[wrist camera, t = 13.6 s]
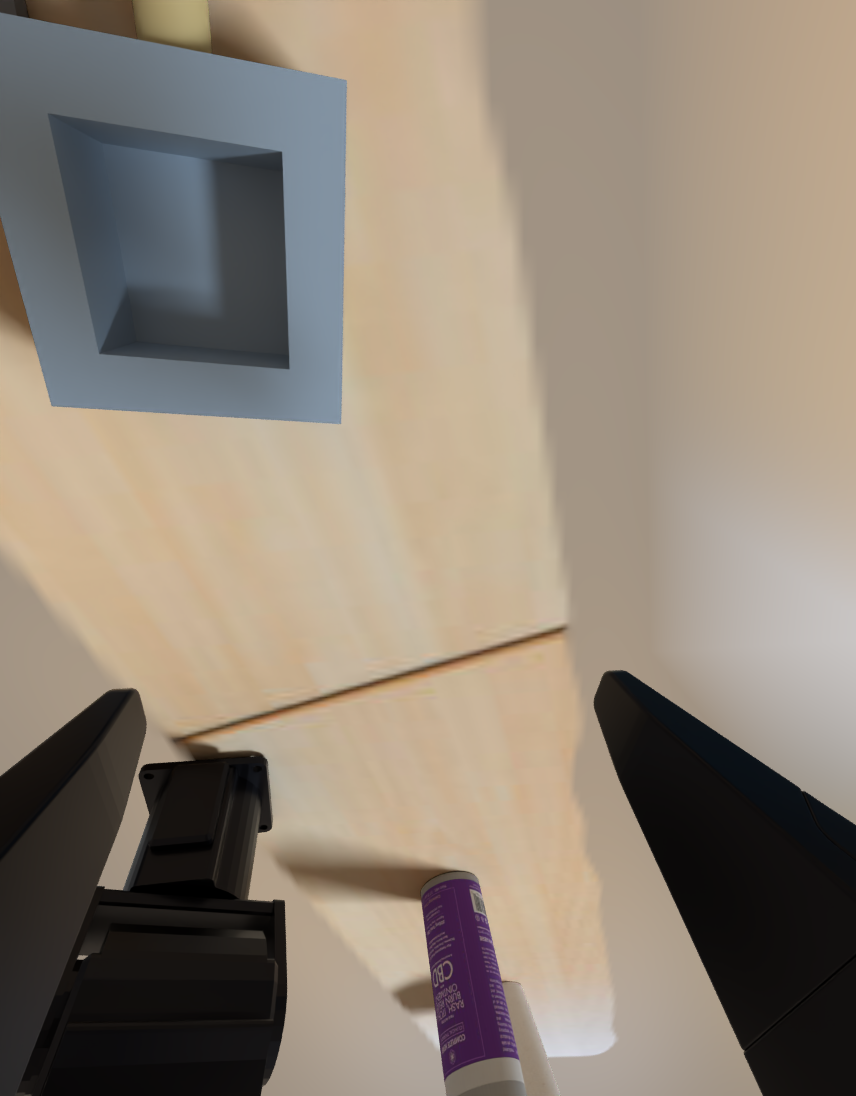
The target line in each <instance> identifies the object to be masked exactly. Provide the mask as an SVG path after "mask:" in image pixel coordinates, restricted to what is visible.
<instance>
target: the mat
mask: <svg viewBox="0 0 856 1096" xmlns="http://www.w3.org/2000/svg"><path fill="white" fill-rule="evenodd" d="M0 13H5V14H10V15H15V16H20V17H26V18H29V17H28V12H27V8H26V3H25V0H0Z"/></svg>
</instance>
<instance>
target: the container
mask: <svg viewBox="0 0 856 1096" xmlns="http://www.w3.org/2000/svg"><path fill="white" fill-rule="evenodd" d="M421 901H422V909H423V917H424V925H425V933H426V940H427V948H428V956H429V964H430V972H431V980H432V987H433V995H434V1003H435V1011H436V1019H437V1027H438V1035H439V1042H440V1050H441V1058H442V1066H443V1073H444V1082H445V1087H446V1095H447V1096H527V1094H526V1089H525V1084H524V1079H523V1074H522V1070H521V1065H520V1060H519V1055H518V1051H517V1046H516V1042H515V1038H514V1033H513V1029H512V1025H511V1020H510V1016H509V1011H508V1007H507V1003H506V998H505V994H504V990H503V985H502V981H501V976H500V972H499V968H498V963H497V959H496V955H495V950H494V946H493V941H492V937H491V933H490V928H489V924H488V920H487V915H486V911H485V906H484V902H483V898H482V893H481V889H480V885H479V881H478V878H477V877H476V876H475V875H473V874H471V873H468V872H450V873H446V874H442V875H440V876H437V877H435V878H433V879H431V880H430V881H429V882H427V883H426V884H425V885H424V886H423V888H422V890H421Z"/></svg>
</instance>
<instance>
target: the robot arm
mask: <svg viewBox="0 0 856 1096" xmlns="http://www.w3.org/2000/svg"><path fill="white" fill-rule="evenodd" d="M594 709H595V712H596V715H597V718H598V721H599V724H600V727H601V729H602V733H603V736H604V738H605V741H606V744H607V747H608V750H609V753H610V756H611V759H612V762H613V765H614V767H615V770H616V772H617V775H618V778H619V781H620V783H621V785H622V787H623V790H624V792H625V794H626V797H627V799H628V801H629V803H630V805H631V807H632V809H633V812H634V814H635V816H636V818H637V821H638V823H639V825H640V827H641V829H642V832H643V834H644V836H645V838H646V840H647V842H648V845H649V847H650V849H651V851H652V853H653V856H654V858H655V860H656V862H657V864H658V866H659V868H660V871H661V873H662V875H663V877H664V880H665V882H666V883H667V886H668V888H669V891H670V893H671V895H672V897H673V899H674V901H675V903H676V906H677V908H678V910H679V912H680V915H681V917H682V919H683V921H684V923H685V926H686V928H687V930H688V932H689V934H690V936H691V938H692V941H693V943H694V945H695V947H696V949H697V952H698V954H699V956H700V958H701V961H702V963H703V965H704V967H705V969H706V971H707V974H708V976H709V978H710V980H711V982H712V985H713V987H714V989H715V991H716V993H717V996H718V998H719V1000H720V1002H721V1004H722V1006H723V1008H724V1011H725V1013H726V1015H727V1017H728V1019H729V1022H730V1024H731V1026H732V1028H733V1031H734V1033H735V1035H736V1037H737V1039H738V1041H739V1044H740V1046H741V1048H742V1049H743V1050H745V1051H744V1055H745V1058H746V1060H747V1062H748V1064H749V1066H750V1069H751V1071H752V1072H753V1075H754V1077H755V1079H756V1082H757V1084H758V1086H759V1088H760V1090H761V1093H762V1095H763V1096H856V825H855V824H853V823H852V822H850V821H849V820H847V819H846V818H844V817H843V816H841V815H840V814H838V813H837V812H835V811H833V810H832V809H830V808H829V807H827V806H826V805H824V804H823V803H821V802H820V801H818V800H817V799H816V798H814V797H813V796H811V795H810V794H808V793H806V792H805V791H801V789H800V788H799V787H798V786H796V785H795V784H793V783H792V782H790V781H789V780H787V779H786V778H784V777H783V776H781V775H780V774H778V773H777V772H775V771H774V770H772V769H771V768H769V767H768V766H766V765H765V764H763V763H762V762H760V761H759V760H757V759H756V758H754V757H753V756H752V755H750V754H749V753H747V752H745V751H744V750H743V749H741V748H740V747H738V746H737V745H735V744H734V743H732V742H731V741H729V740H728V739H726V738H725V737H723V736H722V735H720V734H718V733H717V732H716V731H714V730H713V729H711V728H710V727H708V726H707V725H705V724H704V723H702V722H701V721H700V720H698V719H697V718H695V717H694V716H692V715H691V714H689V713H688V712H686V711H685V710H683V709H682V708H680V707H679V706H677V705H676V704H674V703H673V702H671V701H670V700H668V699H667V698H665V697H664V696H662V695H661V694H659V693H658V692H656V691H655V690H654V689H652V688H651V687H649V686H648V685H646V684H645V683H643V682H641V681H640V680H639V679H637V678H636V677H634V676H633V675H631V674H630V673H628V672H626V671H623V670H615V671H607V672H605V673H604V674H603V676H602V679H601V681H600V685H599V687H598V689H597V692H596V694H595V698H594ZM145 734H146V717H145V714H144V710H143V706H142V702H141V698H140V694H139V692H138V691H137V690H136V689H133V688H129V689H112V690H109V691H108V692H106V693H105V694H103V695H102V696H101V697H100V698H99V699H97V700H96V701H95V702H93V703H92V704H91V705H90V706H89V707H87V708H86V709H84V711H82V712H81V713H79V714H78V715H77V716H76V717H74V718H73V719H72V720H71V721H69V722H68V723H67V724H66V725H64V726H63V727H62V728H61V729H59V730H58V731H57V732H56V733H54V734H53V735H52V736H50V737H49V738H48V739H47V740H45V741H44V742H43V743H42V744H40V745H39V746H38V747H37V748H35V749H34V750H33V751H32V752H30V753H29V754H28V755H27V756H25V757H24V758H23V759H21V760H20V761H19V762H18V763H16V764H15V765H14V766H13V767H11V768H10V769H9V770H8V771H6V772H5V773H4V774H3V775H1V776H0V1096H261V1090H262V1087H263V1086H264V1085H266V1083H267V1082H268V1080H269V1079H270V1076H271V1074H272V1071H273V1069H274V1066H275V1063H276V1059H277V1056H278V1052H279V1047H280V1043H281V1039H282V1033H283V1028H284V1021H285V1013H286V1003H287V963H286V932H285V931H286V930H285V901H284V900H273V901H272V902H270V901H256V900H248V895H249V889H250V882H251V875H252V868H253V862H254V855H255V848H256V842H257V835H258V833H261V832H267V831H269V830H271V829H272V822H273V817H272V806H271V794H270V783H269V772H268V762H267V760H266V759H265V758H263V757H245V758H230V759H214V760H199V761H184V762H168V763H153V764H146V765H144V766H143V767H142V768H141V771H140V773H139V780H140V784H141V787H142V791H143V794H144V797H145V801H146V804H147V807H148V811H149V814H150V815H149V818H148V821H147V824H146V827H145V829H144V832H143V835H142V838H141V841H140V844H139V846H138V849H137V852H136V855H135V858H134V861H133V863H132V866H131V869H130V872H129V875H128V877H127V880H126V883H125V886H124V888H123V890H111V889H104V888H105V887H104V886H103V887H102V886H97V884H98V882H99V879H100V877H101V874H102V871H103V869H104V866H105V863H106V861H107V858H108V856H109V853H110V851H111V848H112V846H113V843H114V841H115V838H116V835H117V833H118V830H119V827H120V824H121V822H122V818H123V815H124V811H125V808H126V805H127V801H128V797H129V793H130V790H131V786H132V782H133V778H134V775H135V771H136V767H137V764H138V760H139V756H140V752H141V749H142V745H143V741H144V737H145ZM79 955H88V957H86V958H85V959H84V960H77V958H78V956H79Z"/></svg>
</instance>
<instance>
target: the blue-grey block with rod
mask: <svg viewBox="0 0 856 1096" xmlns="http://www.w3.org/2000/svg"><path fill="white" fill-rule="evenodd" d="M132 4H133V12H134V19H135V26H136V34H137V39H133V38H128V37H123V36H118V35H112V34H107V33H102V32H97V31H92V30H87V29H82V28H77V27H72V26H66V25H61V24H56V23H51V22H46V21H41V20H36V19H31V18H26V17H20V16H15V15H10V14H5V13H0V217H1V221H2V225H3V229H4V232H5V236H6V240H7V243H8V247H9V251H10V254H11V258H12V262H13V265H14V269H15V273H16V276H17V280H18V284H19V287H20V291H21V295H22V298H23V302H24V306H25V309H26V313H27V317H28V321H29V324H30V328H31V332H32V335H33V339H34V343H35V346H36V350H37V354H38V357H39V361H40V365H41V368H42V372H43V376H44V379H45V383H46V387H47V390H48V394H49V398H50V401H51V405H52V406H57V407H73V408H89V409H105V410H122V411H138V412H154V413H170V414H186V415H203V416H219V417H235V418H251V419H268V420H284V421H300V422H316V423H332V424H341V401H342V339H343V278H344V216H345V154H346V93H347V80H343V79H338V78H332V77H327V76H322V75H317V74H312V73H307V72H302V71H297V70H292V69H286V68H281V67H276V66H271V65H266V64H261V63H256V62H251V61H245V60H240V59H235V58H230V57H225V56H220V55H215V54H212V45H211V33H210V21H209V9H208V0H132Z"/></svg>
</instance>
